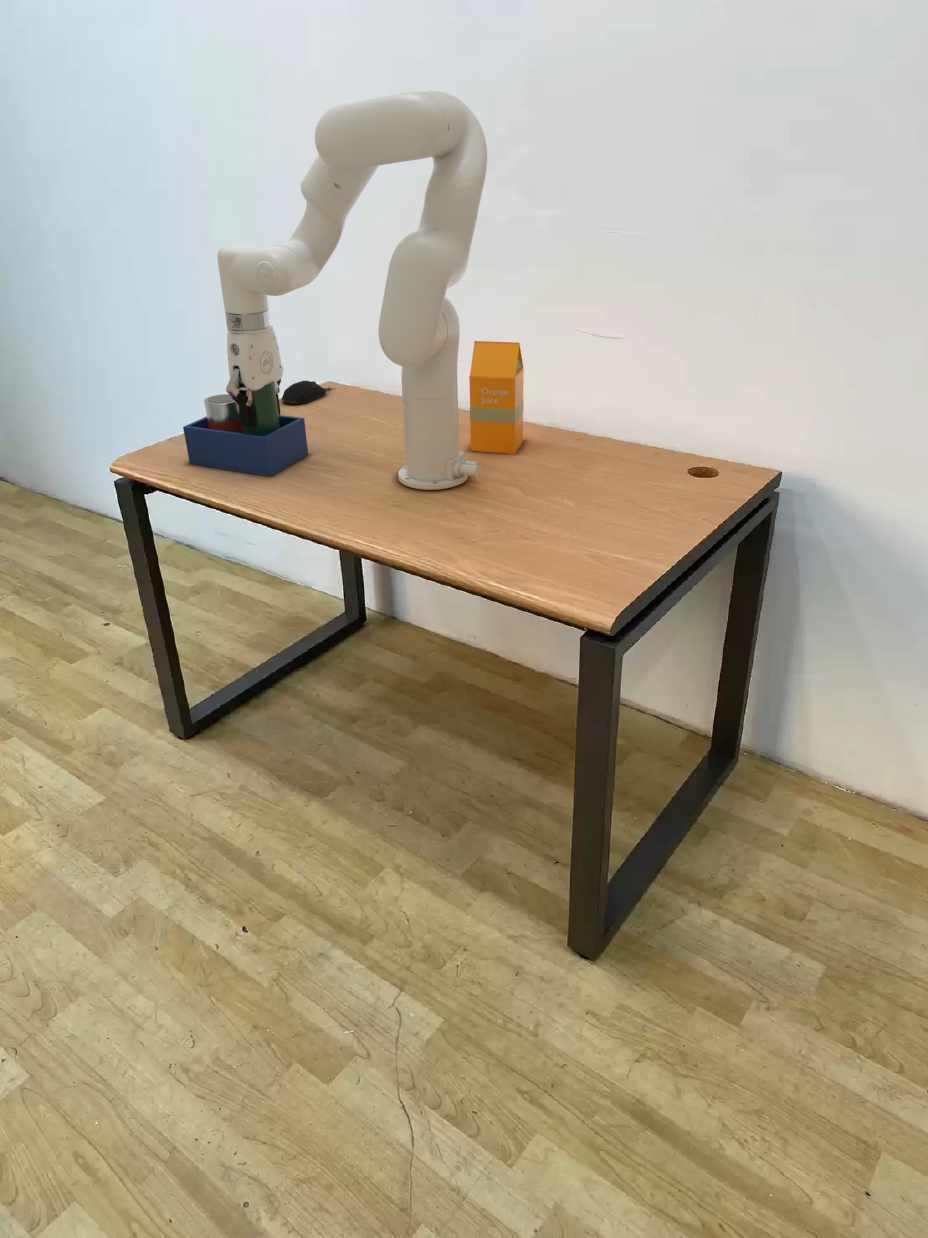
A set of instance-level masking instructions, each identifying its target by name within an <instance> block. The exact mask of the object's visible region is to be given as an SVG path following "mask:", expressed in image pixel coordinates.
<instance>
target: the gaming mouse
mask: <svg viewBox="0 0 928 1238" xmlns="http://www.w3.org/2000/svg"><path fill="white" fill-rule="evenodd" d="M329 390H331V387H327V388H326V387H324V388H323V386H321V385H319V384H318V383H317V382H316V381H315V380H313V381H309V380H306V379H305V380H301V381H298V382H295V383H293V384H291V385H289V386H288V387H287V388H286V389H285V390H284V391H283V394H282V396H281V397H282V398H281V400H282V401H283V402H284V403H287V404H292V405H303V404H307V403H310V402H313V401H315V400H317V399H319V398H322V397H324V396H325V395H326V394H327V391H329Z"/></svg>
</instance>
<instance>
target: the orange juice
mask: <svg viewBox="0 0 928 1238" xmlns="http://www.w3.org/2000/svg"><path fill="white" fill-rule="evenodd" d="M472 349H473V350H472V356H471V363H470V364H471V365H470V374H469V425H470V426H469V427H470V451H471V452H481V453H494V454H510V455H511V454H512V455H515V454H516V453H517V451H518V450H519V448H520V447H521V446H522V443H523V442H524V371H525V370H524V369H525V368H524V362H523V356H522V350H521V344H520V342H515V341H514V342H513V341H512V342H511V341H510V342H509V341H488V340H487V341H485V340H474V341H473V348H472Z"/></svg>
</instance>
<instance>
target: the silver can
mask: <svg viewBox="0 0 928 1238" xmlns="http://www.w3.org/2000/svg"><path fill="white" fill-rule="evenodd" d="M203 403H204V409H205V414H206V416H207V421H208V427H209V429H213V430H220V431H228V432H235V433H242V434H245V432H244V426H242V425H241V421H240V414H239V407H238V405H237V404H236V403H235V401H234V400H233V399H232V397H231V396H230V395H229V394H228V393H222V394H215V395H211V396H208V397H206V398H204V401H203Z"/></svg>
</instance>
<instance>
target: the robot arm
mask: <svg viewBox="0 0 928 1238" xmlns="http://www.w3.org/2000/svg"><path fill="white" fill-rule="evenodd" d="M314 144H315V148H316V151H317V153H318V154H317V156H316V157H315V159H314V160H313V162H312V164H311V165H310V167H309V168H308V170H307V172H306V173H305V175H304V176H303V178H302V180H301V183H300V191H301V194H302V196H303V198H304V200H305V201H306V207H305V211H304V213H303V214H302V215H303V216H302V218H301V219H300V221H299V223H298V225H297V226H296V228H295V230H294V231H293V233H292V235H291V236H290V238H288V241H286V242H282V243H279V244H276V245H273V246H270V247H266V248H262V249H260V248H259V247H258V246H256V245H254V244H241V243H240V244H229V245H225V246H222V247H220V248H219V250H218V251H217V256H216V257H217V266H218V272H219V280H220V286H221V287H220V288H221V293H222V301H223V307H224V314H225V321H226V322H225V323H226V327H227V335H226V344H227V345H226V348H227V351H226V352H227V365H228V373H229V380H228V383H227V384H226V388H225V392H226V394H229V395H230V396H231V397H232V399H233V400H234V401H235V403H236V404H237V405H238V407H239V414H240V421H241V425H242V426H248V427H256V426H257V420H256V413H255V406H254V405H252V398H253V391H256V390H259V389H261V388H262V387H264V385H267V384H269V383H271V382H274V381H275V389H276V397H277V405H278V413H279V415H282V414H281V406H280V397H279V394H280V392H281V388H280V385H281V384H282V377H283V373H284V370H285V369H284V366H282V360H281V353H280V348H279V343H278V340H277V336H276V332H275V330H274V326H273V325H272V324H271V318H270V308H269V302H268V301H269V300H268V296H272V297H278V296H279V297H280V296H283V295H286V294H288V293H291V292H294V291H296V290H297V289H300V288H303V287H305V286H308V285H310V284H311V283H312V282H313V281H314V280H315V279H316V278H317V277H318V276H319V275H320V273H321V272H322V270H324V267H325V266H326V265H327V263H328V261H329V260H330V258H331V257H332V255H333V253H334V252H335V250H336V248H337V247H338V244H339V242H340V240H341V238H342V235H343V231H344V229H345V225H346V222H347V221H346V220H347V217H348V216H349V214H350V212H351V210H352V209H353V207H354V206H355V204H356V202H357V201H358V199H359V198H360V196H361V195H362V193H363V192H364V190H365V188H366V187H367V185H368V184H369V182H370V180H371V179H372V178H373V176H374V174H375V173H376V172H377V170H378V168H379V167H380V166H385V165H391V164H397V163H404V162H412V161H419V160H424V159H430V158H432V171H431V174H430V177H429V179H428V183H427V185H426V189H425V192H424V199H423V204H422V209H421V214H420V220H419V224H418V226H417V229H416V230H415V231H413V232H410V233H408V234H406V236H405V237H403V238H402V239H401V240H400V241H399V242H398V244H396V246H395V248H394V250H393V253H392V255H391V258H390V260H389V265H388V270H387V275H386V280H385V286H384V291H383V297H382V304H381V309H380V315H379V321H378V340H379V345H380V348H381V350H382V352H383V353H384V355H385V356H386V357H387V359H389V361H390V362H392V363H393V364H395V365H397V366H400V367H401V396H402V397H401V398H402V413H403V414H402V415H403V430H404V431H403V432H404V433H403V434H404V448H405V465H404V466H402V467H401V468H400V469H399V470H398V473H397V477H398V481H399V483H401V484H402V485H404V486H405V487H408V488H412V489H416V490H425V491H426V490H427V491H435V490H446V489H451V488H454V487H457V486H460V485H462V484H463V483H465V482H466V481H467V480H468V478H469V477H472V478H478V476H479V475H480V466H479V462H478V461H473V460H471V461H469V460H467V459H466V456H465V455H466V454H465V451H462V450H461V451H460V434H459V433H460V432H459V431H460V430H459V427H460V426H459V397H458V396H459V395H458V392H459V390H458V385H459V383H458V360H459V348H460V347H459V346H460V336H461V334H460V333H461V326H460V318H459V315H458V311H457V310H456V306H454V304H453V303H452V302H451V300H449V298H448V297H446V294H447V290H449V289H450V288H452V287H454V286H455V285H456V284H458V283H459V282H460V281H461V280H462V279H463V277H464V275H465V273H466V272H467V268H468V264H469V259H470V254H471V253H470V252H471V249H472V248H471V247H472V244H473V238H474V234H475V229H476V224H477V220H478V214H479V208H480V204H481V200H482V195H483V191H484V186H485V180H486V176H487V169H488V146H487V145H488V144H487V140H486V136H485V133H484V130H483V127H482V124H481V123H480V121H479V120H478V117H477V116H476V115H475V114H474V112H473V111H472V110H471V109H470V107H469V106H468V105H467V104H466V103H465V102H463V101H462V100H461V99H459V98H458V97H456V96H454V95H452V94H449V93H447V92H444V91H438V90H437V91H436V90H435V91H434V90H429V91H407V92H402V93H397V94H392V95H391V94H390V95H386V96H380V97H375V98H369V99H365V100H360V101H354V102H347V103H339V104H335V105H332V106H331V107H329V108H328V109H326V110H325V111H324V112H323V113H322V115H321V116H320V117H319V119H318V121H317V123H316V126H315V131H314ZM243 384H244V385H245V387H241V386H242V385H243ZM242 391H247V394H246V397H245V396H244V395H243V392H242Z"/></svg>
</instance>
